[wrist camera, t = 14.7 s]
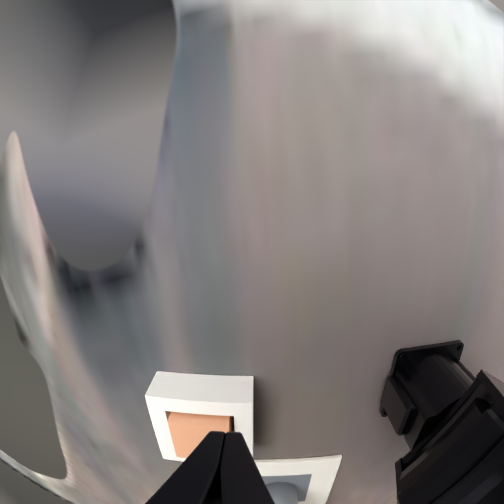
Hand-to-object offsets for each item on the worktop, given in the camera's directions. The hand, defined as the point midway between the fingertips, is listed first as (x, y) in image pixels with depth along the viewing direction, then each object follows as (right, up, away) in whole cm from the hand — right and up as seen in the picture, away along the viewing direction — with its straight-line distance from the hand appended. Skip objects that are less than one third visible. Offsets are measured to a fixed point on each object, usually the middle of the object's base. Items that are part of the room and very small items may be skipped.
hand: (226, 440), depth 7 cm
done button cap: (-3, -7, +13) cm, 15 cm away
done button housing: (-3, -7, +14) cm, 16 cm away
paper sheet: (+2, -19, +17) cm, 25 cm away
